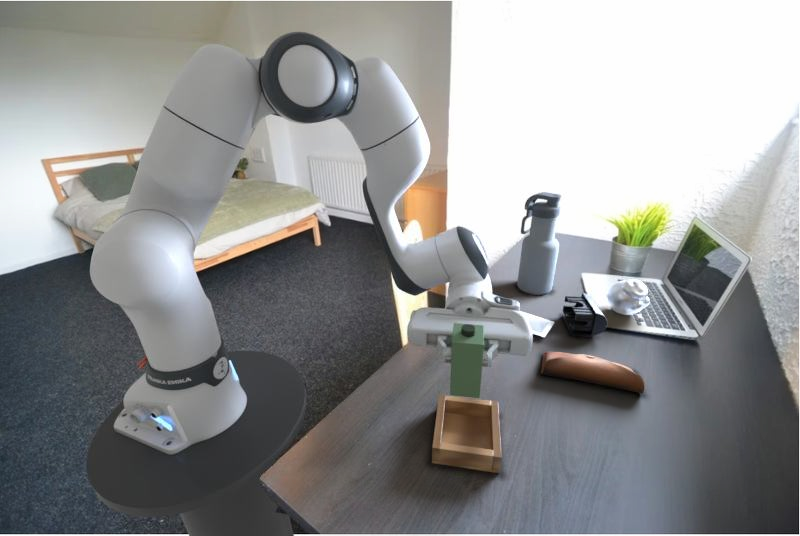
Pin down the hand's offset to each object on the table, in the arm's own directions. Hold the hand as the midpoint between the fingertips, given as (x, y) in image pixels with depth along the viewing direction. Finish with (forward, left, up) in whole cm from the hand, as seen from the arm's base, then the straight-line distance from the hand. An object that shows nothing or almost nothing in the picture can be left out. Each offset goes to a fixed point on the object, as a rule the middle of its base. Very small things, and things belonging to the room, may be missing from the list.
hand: (466, 361), depth 56 cm
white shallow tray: (+13, +37, -16) cm, 43 cm away
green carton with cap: (0, +1, -5) cm, 6 cm away
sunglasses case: (+25, +20, -16) cm, 36 cm away
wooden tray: (+1, 0, -16) cm, 16 cm away
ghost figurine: (+40, +46, -16) cm, 63 cm away
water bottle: (+19, +57, -16) cm, 62 cm away
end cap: (+28, +38, -16) cm, 50 cm away
